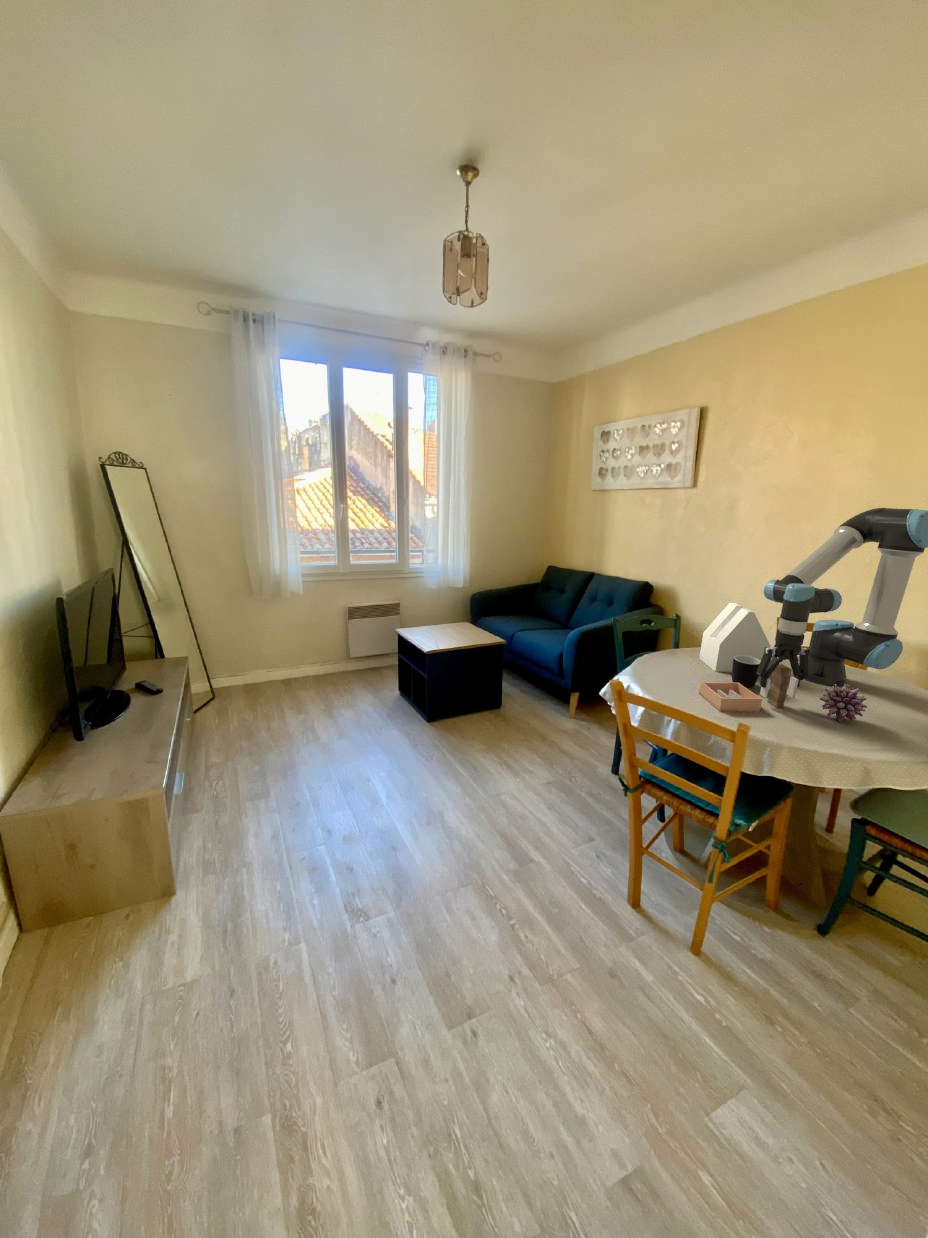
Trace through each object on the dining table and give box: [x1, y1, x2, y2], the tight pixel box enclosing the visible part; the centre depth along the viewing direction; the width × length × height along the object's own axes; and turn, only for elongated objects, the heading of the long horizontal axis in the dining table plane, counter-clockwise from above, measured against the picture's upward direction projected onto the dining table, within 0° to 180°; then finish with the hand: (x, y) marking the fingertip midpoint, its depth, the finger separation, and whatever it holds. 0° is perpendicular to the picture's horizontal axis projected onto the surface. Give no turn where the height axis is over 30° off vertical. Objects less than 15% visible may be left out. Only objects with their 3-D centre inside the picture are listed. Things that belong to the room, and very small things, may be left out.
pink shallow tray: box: [698, 681, 763, 713], centre depth 161 cm, size 13×13×4 cm
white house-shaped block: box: [698, 601, 772, 673], centre depth 193 cm, size 19×15×25 cm
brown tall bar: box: [767, 663, 792, 709], centre depth 158 cm, size 2×4×14 cm, turn 2°
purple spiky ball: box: [819, 683, 868, 722], centre depth 149 cm, size 12×12×12 cm
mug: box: [731, 656, 761, 690], centre depth 176 cm, size 12×9×10 cm
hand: (777, 696), depth 159 cm, fingers open, 9 cm apart
